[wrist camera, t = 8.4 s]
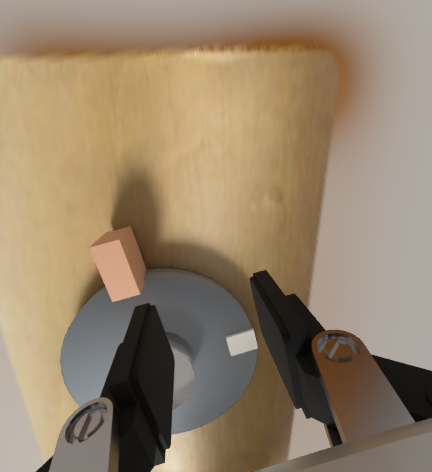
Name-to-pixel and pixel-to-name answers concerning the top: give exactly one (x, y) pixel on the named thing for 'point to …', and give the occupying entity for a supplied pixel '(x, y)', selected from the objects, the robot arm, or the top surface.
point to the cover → (182, 369)
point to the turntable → (173, 320)
